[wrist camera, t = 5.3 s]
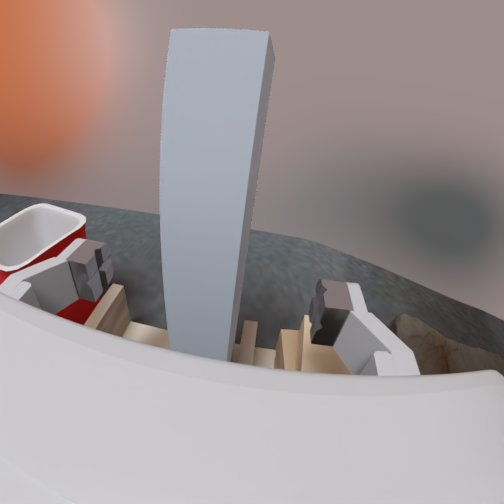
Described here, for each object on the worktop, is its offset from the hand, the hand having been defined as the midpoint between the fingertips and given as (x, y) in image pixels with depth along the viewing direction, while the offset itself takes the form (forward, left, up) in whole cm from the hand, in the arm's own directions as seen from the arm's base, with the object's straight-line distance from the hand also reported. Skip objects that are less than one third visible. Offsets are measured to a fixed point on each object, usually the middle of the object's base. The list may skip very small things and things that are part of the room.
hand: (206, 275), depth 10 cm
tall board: (0, -2, -12) cm, 12 cm away
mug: (+17, -5, -14) cm, 22 cm away
